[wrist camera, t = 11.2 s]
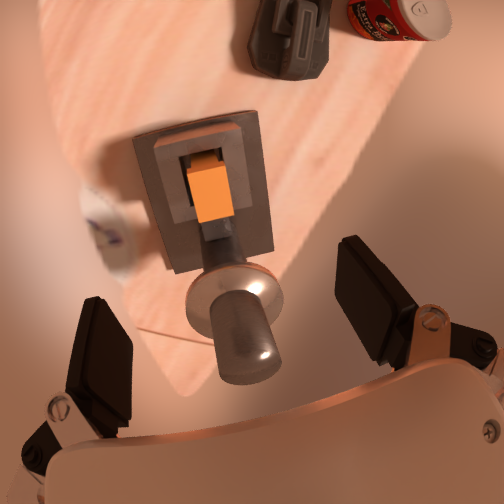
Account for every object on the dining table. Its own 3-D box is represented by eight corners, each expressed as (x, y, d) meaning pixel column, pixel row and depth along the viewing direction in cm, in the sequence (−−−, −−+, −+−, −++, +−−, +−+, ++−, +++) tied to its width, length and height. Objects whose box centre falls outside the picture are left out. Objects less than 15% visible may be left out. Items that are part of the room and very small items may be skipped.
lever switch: (134, 137, 29) (65, 225, 11) (254, 110, 30) (351, 159, 13) (175, 269, 40) (181, 408, 22) (272, 246, 41) (332, 371, 24)
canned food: (333, 9, 24) (387, -7, 15) (368, -18, 21) (423, -33, 12) (372, 52, 27) (431, 54, 19) (402, 24, 25) (461, 23, 16)
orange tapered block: (186, 145, 30) (186, 174, 21) (213, 139, 30) (225, 165, 21) (194, 181, 32) (199, 223, 24) (220, 175, 32) (234, 215, 24)
